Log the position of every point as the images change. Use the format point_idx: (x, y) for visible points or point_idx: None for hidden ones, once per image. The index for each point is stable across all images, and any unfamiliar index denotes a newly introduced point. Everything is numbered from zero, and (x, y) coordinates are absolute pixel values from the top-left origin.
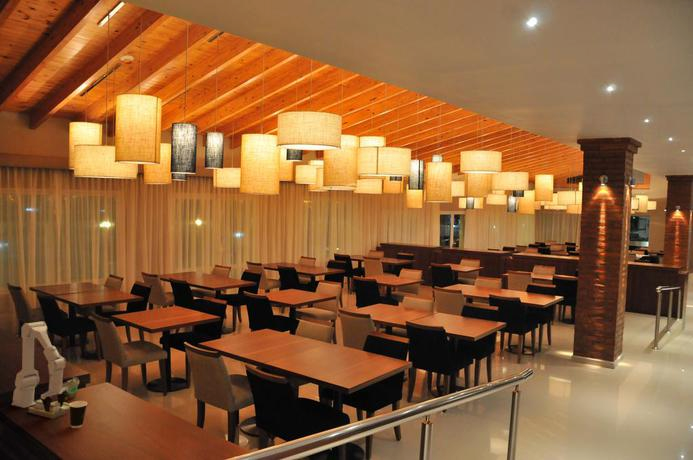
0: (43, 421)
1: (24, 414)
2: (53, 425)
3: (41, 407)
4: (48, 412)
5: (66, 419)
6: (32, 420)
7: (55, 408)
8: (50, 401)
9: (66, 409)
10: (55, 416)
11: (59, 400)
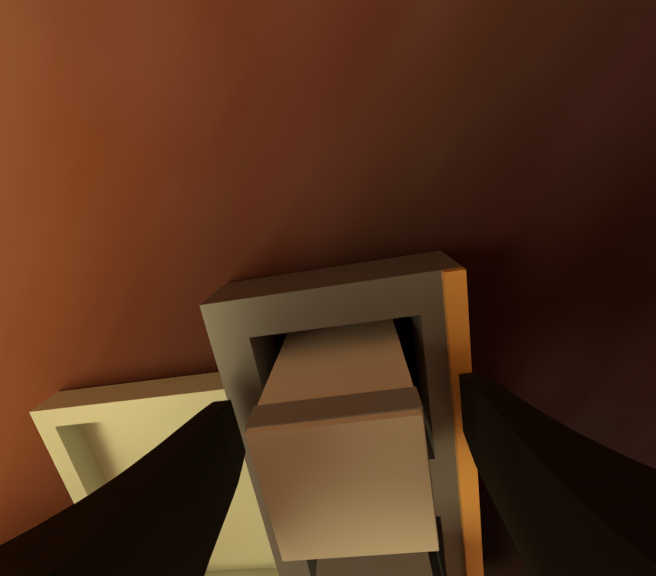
0: (549, 275)
1: (511, 566)
2: (591, 20)
3: (423, 555)
4: (462, 369)
5: (318, 106)
6: (594, 393)
7: (357, 374)
8: (653, 517)
9: (156, 385)
10: (395, 263)
11: (196, 532)
